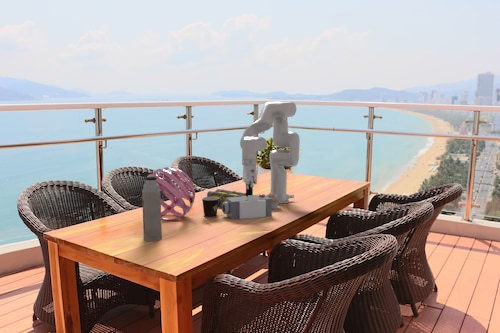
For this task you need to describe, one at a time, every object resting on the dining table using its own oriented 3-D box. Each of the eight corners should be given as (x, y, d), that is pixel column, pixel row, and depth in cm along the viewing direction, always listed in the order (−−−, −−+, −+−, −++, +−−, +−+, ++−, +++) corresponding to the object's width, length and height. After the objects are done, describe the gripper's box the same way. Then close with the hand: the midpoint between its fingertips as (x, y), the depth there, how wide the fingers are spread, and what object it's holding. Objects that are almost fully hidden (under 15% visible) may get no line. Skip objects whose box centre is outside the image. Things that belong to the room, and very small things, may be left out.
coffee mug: (206, 219, 241) (205, 200, 240) (199, 216, 249) (199, 197, 248) (226, 217, 247) (226, 198, 245) (219, 213, 254) (219, 195, 253)
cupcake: (270, 206, 271) (270, 189, 269) (282, 209, 264) (282, 191, 263) (259, 209, 264) (259, 191, 263) (271, 212, 258) (271, 194, 256)
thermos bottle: (142, 241, 206) (140, 178, 201) (145, 236, 213) (143, 175, 209) (160, 241, 206) (159, 178, 202) (162, 235, 214) (161, 175, 210)
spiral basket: (139, 189, 221) (179, 153, 234) (122, 193, 245) (159, 160, 258) (177, 232, 229) (213, 195, 241) (157, 231, 252) (191, 198, 265)
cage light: (217, 187, 287) (257, 193, 269) (217, 200, 288) (257, 207, 270) (201, 191, 275) (242, 198, 257) (201, 204, 276) (242, 212, 259)
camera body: (265, 212, 256) (265, 193, 254) (271, 217, 246) (272, 197, 245) (221, 216, 248) (220, 196, 247) (226, 221, 239) (225, 200, 237)
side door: (265, 217, 245) (265, 194, 243) (266, 218, 244) (266, 194, 242) (238, 220, 241) (238, 196, 239) (239, 220, 239) (239, 196, 237)
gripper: (260, 163, 237) (260, 199, 240) (251, 159, 251) (251, 193, 254) (246, 164, 235) (246, 200, 237) (238, 160, 249) (238, 194, 251)
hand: (249, 196), depth 246 cm, fingers closed
